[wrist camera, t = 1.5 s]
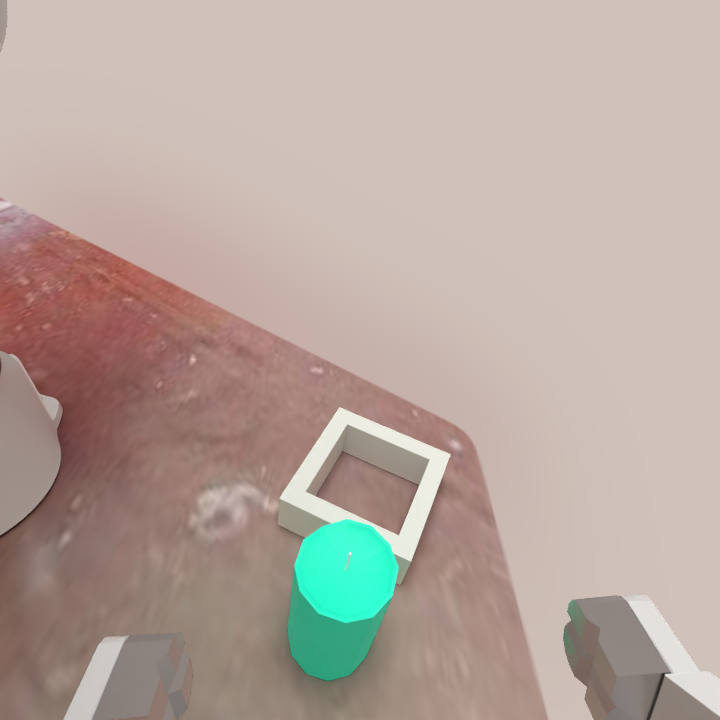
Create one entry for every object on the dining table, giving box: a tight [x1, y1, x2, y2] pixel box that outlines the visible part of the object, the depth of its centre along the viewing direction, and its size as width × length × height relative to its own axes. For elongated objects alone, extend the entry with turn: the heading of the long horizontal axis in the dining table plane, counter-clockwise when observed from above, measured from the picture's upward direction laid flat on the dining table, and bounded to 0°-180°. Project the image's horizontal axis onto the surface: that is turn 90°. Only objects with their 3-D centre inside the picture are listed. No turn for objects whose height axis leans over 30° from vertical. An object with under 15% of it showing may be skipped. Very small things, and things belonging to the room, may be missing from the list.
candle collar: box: [278, 407, 450, 585], centre depth 42 cm, size 11×11×4 cm
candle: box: [288, 519, 399, 681], centre depth 31 cm, size 6×6×12 cm
